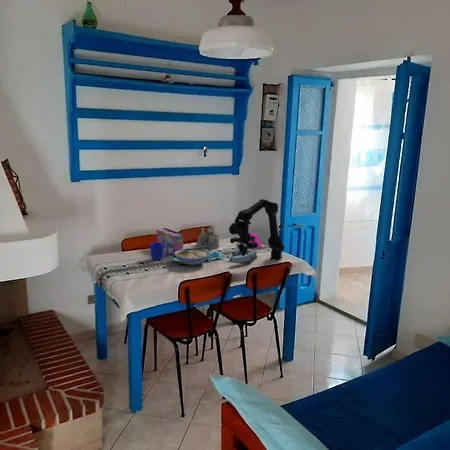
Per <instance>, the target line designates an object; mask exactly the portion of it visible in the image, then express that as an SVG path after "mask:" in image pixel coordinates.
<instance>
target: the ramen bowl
mask: <svg viewBox="0 0 450 450" xmlns="http://www.w3.org/2000/svg"><path fill="white" fill-rule="evenodd" d="M209 249H210V248H209V247H183V249H180V250H172V251H176V252H175V255H174V256H175V257H176V258H177V260H178V261H180V262H181V263H183V264H186V265H188V266H196V265H199V264H202V263H204V262H205V261H207V260H208V258H209V256H210V255H211V251H210V250H209Z"/></svg>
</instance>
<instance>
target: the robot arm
mask: <svg viewBox="0 0 450 450" xmlns="http://www.w3.org/2000/svg"><path fill="white" fill-rule="evenodd" d="M262 209H264V210H265V213H266V214H267V216H268V225H269V233H270V235H269V236H270V237H269V238H267V241H268V242H267V244H268V247H269V249H271V250H270V259H272V260H278V261H280V260H281V259H282V258H283V256H282V255H283V251H284V250H285V248H286V247H285V245H284V244H283V242H282V238H281V237H280V235H279V231H278V229H279V228H278V221H277V214H278V212H279V204H278V203H277V202H274V201H269V200H267V199H265V198H261V199H259V201H257V202H256V203H254V204H253V205H252V206H250V207H248V208H247V209H242V210H240V211H239V212H238V214H237V216H236V217H235V219H234V222H232V223H231V225H229V227H228V231H229V233H230V234H231V235H236V234H237V236H238V237H237V236H234V237H231V238H230V240H229V242H230V244H234V243H237V244H236V247H238V248H237V249H239V250H240V252H241V254H242V256H245V253H246V251H247V249H248V248H250V249H252V250H253V249H257V248H256V247H258V244H257V243H256V242H250V241H254V240H255V237H254V236H250V233H249V231H250V225H251V224H252V222H251V221H250V220H252V218H253V216H254V215H255V214H256V213H258V212H259V211H261V210H262Z"/></svg>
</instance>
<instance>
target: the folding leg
mask: <svg viewBox="0 0 450 450" xmlns="http://www.w3.org/2000/svg"><path fill="white" fill-rule="evenodd" d="M231 257H232V256H231ZM250 260H251V254H246V255H245V256H242V255H240V256H235V257H232V261H231V263H233V264H239V263H240V262H245V261H250Z"/></svg>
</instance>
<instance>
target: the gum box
mask: <svg viewBox="0 0 450 450" xmlns="http://www.w3.org/2000/svg"><path fill="white" fill-rule="evenodd" d="M156 243H162V244H163V246H168V254H171V255H173V254H175V252H176V251H172V250H180V249H184V234H183V233H180V232H178V231H175V230H172V229H170V228H166V227H163V228H161V229H158V228H156ZM163 252H166V253H167V247H163Z"/></svg>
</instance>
